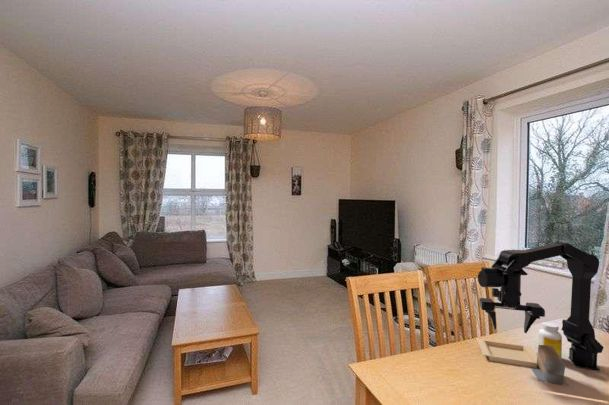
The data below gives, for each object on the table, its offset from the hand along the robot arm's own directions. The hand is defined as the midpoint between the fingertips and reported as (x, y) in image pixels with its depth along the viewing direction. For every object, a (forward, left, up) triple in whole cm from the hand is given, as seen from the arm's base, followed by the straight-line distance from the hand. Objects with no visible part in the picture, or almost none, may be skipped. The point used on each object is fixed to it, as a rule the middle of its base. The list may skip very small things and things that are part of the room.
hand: (509, 330), depth 110 cm
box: (-10, +5, -10) cm, 15 cm away
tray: (-1, -6, -12) cm, 13 cm away
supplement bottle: (-15, -9, -12) cm, 21 cm away
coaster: (-10, +5, -12) cm, 16 cm away
